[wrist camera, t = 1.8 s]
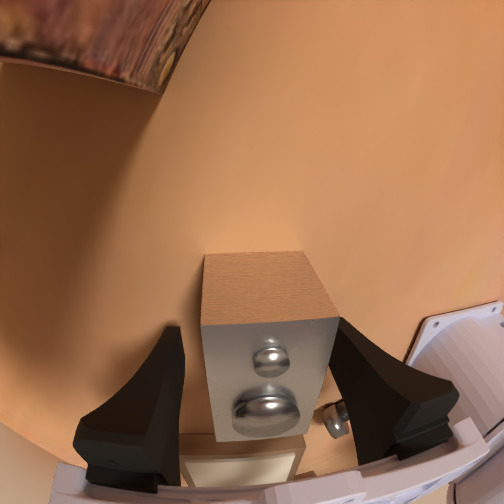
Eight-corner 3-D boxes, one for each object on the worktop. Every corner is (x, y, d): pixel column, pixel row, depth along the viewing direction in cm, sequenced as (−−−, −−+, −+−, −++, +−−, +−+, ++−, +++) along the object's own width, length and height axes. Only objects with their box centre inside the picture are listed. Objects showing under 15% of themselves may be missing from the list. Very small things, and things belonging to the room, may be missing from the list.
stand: (300, 426, 20) (306, 449, 18) (284, 478, 26) (287, 494, 24) (173, 433, 19) (172, 458, 17) (195, 483, 25) (195, 500, 23)
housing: (302, 249, 14) (345, 326, 9) (288, 364, 17) (308, 441, 12) (204, 252, 13) (199, 336, 8) (214, 369, 16) (217, 450, 12)
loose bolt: (391, 364, 18) (405, 389, 16) (400, 380, 19) (413, 404, 17) (318, 404, 19) (325, 431, 17) (332, 417, 20) (340, 443, 18)
